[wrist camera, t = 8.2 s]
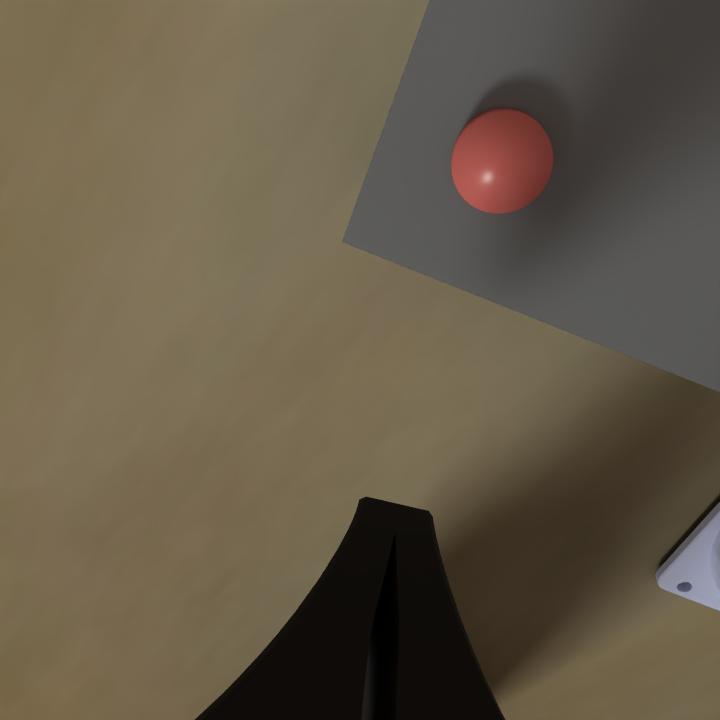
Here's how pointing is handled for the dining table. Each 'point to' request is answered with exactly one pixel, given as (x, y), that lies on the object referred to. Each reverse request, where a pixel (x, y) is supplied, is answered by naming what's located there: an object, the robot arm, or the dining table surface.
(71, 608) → the dining table surface
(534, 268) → the camera body
